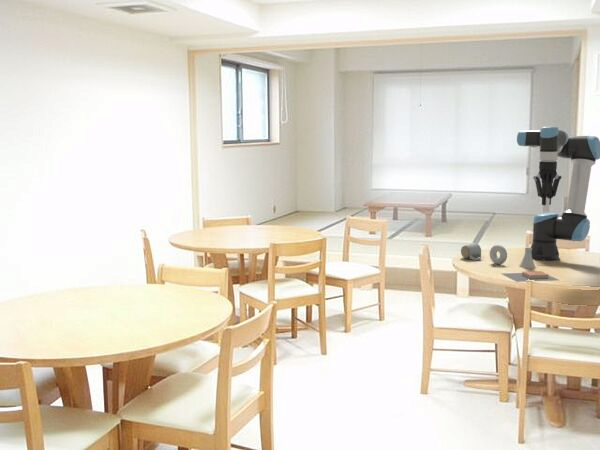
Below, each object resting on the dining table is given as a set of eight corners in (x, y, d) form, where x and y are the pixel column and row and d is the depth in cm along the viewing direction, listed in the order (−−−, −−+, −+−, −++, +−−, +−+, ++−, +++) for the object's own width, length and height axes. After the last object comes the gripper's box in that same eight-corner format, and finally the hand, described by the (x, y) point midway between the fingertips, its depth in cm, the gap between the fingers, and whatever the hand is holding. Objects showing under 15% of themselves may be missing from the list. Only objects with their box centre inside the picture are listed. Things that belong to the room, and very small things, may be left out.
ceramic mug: (459, 257, 337) (460, 243, 336) (472, 256, 340) (472, 242, 339) (472, 261, 327) (473, 247, 326) (485, 260, 331) (486, 245, 329)
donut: (508, 265, 316) (509, 245, 315) (503, 266, 315) (504, 246, 313) (492, 262, 325) (493, 242, 323) (487, 263, 323) (488, 243, 322)
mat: (541, 273, 299) (541, 272, 299) (559, 281, 283) (559, 280, 283) (500, 275, 296) (500, 273, 296) (516, 283, 280) (516, 281, 280)
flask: (527, 270, 306) (528, 250, 304) (516, 267, 312) (517, 247, 311) (538, 269, 308) (539, 248, 307) (527, 266, 315) (528, 246, 314)
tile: (540, 271, 294) (522, 271, 292) (548, 274, 287) (529, 275, 285) (540, 274, 294) (522, 275, 293) (548, 278, 287) (529, 278, 286)
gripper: (556, 159, 297) (554, 210, 301) (530, 160, 295) (528, 211, 299) (566, 160, 290) (563, 212, 294) (539, 161, 288) (537, 213, 292)
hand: (545, 211), depth 297 cm, fingers closed
